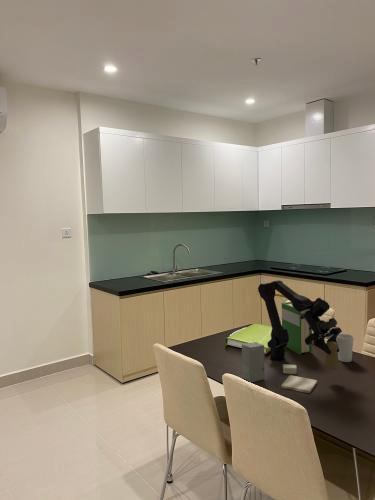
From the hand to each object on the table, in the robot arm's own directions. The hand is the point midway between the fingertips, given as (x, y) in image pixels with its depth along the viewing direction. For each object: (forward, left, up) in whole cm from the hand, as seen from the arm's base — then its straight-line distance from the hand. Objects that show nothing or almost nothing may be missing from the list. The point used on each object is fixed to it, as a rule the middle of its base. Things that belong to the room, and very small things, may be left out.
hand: (334, 352), depth 172 cm
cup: (-1, +30, -13) cm, 32 cm away
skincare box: (-32, -13, -13) cm, 37 cm away
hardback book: (-27, +35, -13) cm, 46 cm away
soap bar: (-20, +2, -13) cm, 24 cm away
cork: (-1, +1, -7) cm, 7 cm away
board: (-12, -10, -13) cm, 21 cm away
